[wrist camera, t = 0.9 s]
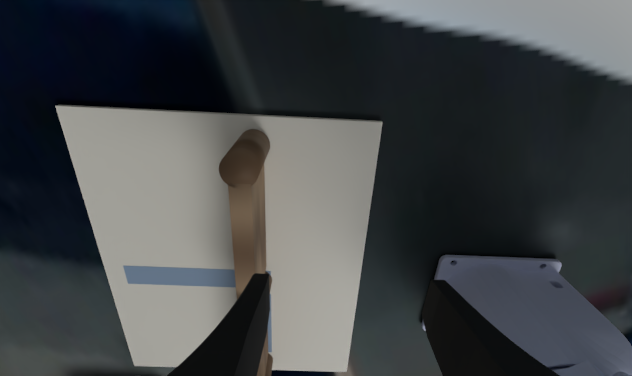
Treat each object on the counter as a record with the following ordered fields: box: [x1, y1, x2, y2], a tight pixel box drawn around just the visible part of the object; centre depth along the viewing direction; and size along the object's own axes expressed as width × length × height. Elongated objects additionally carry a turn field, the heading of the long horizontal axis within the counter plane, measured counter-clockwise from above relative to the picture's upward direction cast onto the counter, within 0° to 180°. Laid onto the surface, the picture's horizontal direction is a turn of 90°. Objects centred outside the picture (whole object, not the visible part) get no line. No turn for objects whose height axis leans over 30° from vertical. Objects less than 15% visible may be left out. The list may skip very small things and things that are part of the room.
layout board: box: [55, 105, 383, 372], centre depth 24 cm, size 20×24×1 cm
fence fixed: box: [257, 271, 273, 376], centre depth 24 cm, size 2×12×5 cm, turn 177°
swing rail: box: [219, 129, 270, 299], centre depth 20 cm, size 13×2×5 cm, turn 177°
